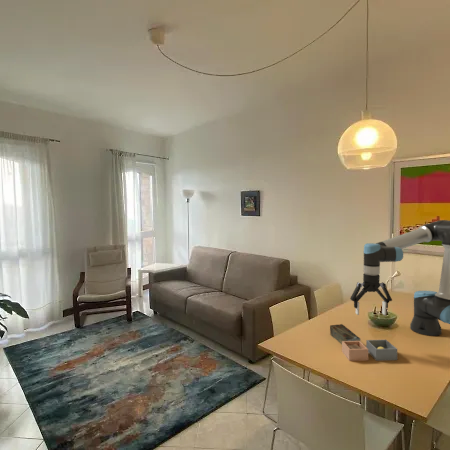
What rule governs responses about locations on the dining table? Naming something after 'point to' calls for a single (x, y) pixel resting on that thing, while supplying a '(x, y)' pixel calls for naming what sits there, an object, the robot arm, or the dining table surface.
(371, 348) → the grey tub
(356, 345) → the walnut cube
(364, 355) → the pink open box
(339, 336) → the dark grey long box
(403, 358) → the dining table surface
